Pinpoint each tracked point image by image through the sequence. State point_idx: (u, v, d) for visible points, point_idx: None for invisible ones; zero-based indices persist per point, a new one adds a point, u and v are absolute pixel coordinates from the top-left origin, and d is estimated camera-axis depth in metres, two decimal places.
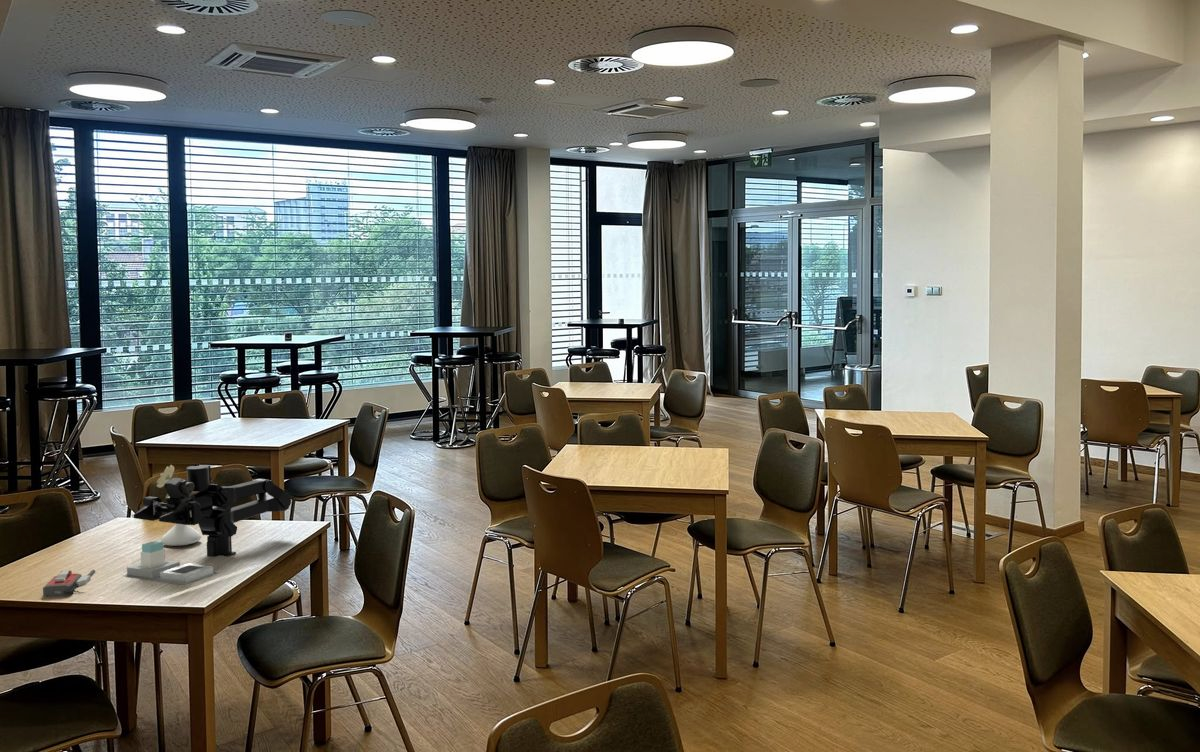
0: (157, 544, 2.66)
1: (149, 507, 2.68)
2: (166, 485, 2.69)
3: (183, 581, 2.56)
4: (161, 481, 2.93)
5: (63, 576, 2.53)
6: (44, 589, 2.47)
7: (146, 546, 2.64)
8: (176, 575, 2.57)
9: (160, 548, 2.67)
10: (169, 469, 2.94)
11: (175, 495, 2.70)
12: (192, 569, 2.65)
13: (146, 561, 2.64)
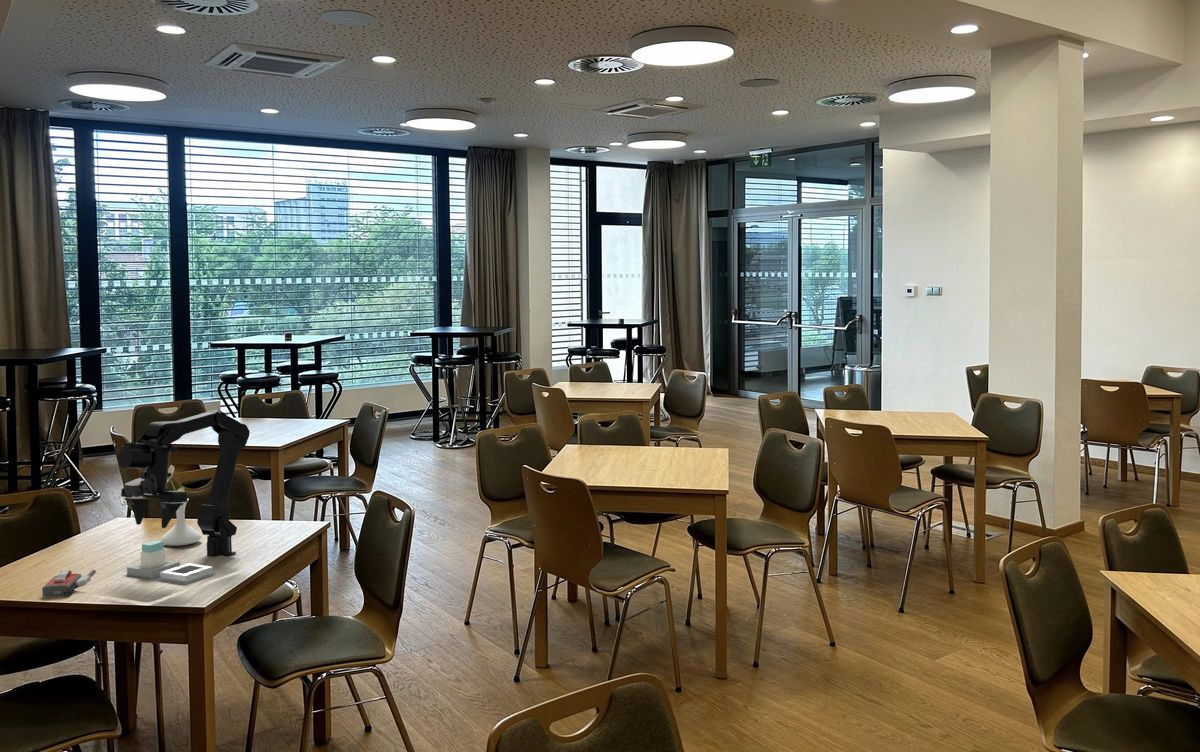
0: (157, 544, 2.66)
1: (136, 504, 2.66)
2: None
3: (183, 581, 2.56)
4: None
5: (63, 576, 2.53)
6: (43, 589, 2.47)
7: (146, 546, 2.64)
8: (176, 575, 2.57)
9: (160, 548, 2.67)
10: (169, 469, 2.94)
11: None
12: (192, 569, 2.65)
13: (146, 561, 2.64)
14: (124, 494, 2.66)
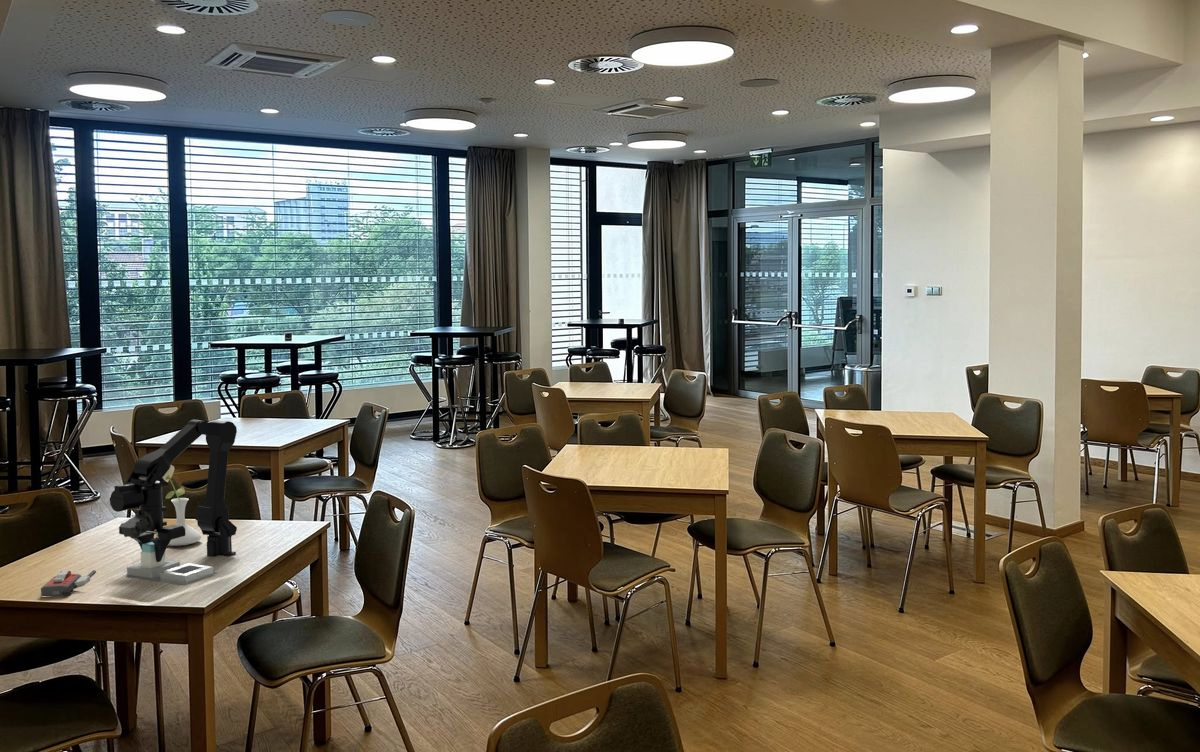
0: None
1: (143, 541, 2.66)
2: None
3: (183, 581, 2.56)
4: None
5: (62, 576, 2.52)
6: (42, 589, 2.47)
7: (146, 546, 2.64)
8: (176, 575, 2.57)
9: None
10: (169, 469, 2.94)
11: None
12: (192, 569, 2.65)
13: (146, 561, 2.64)
14: (122, 532, 2.66)
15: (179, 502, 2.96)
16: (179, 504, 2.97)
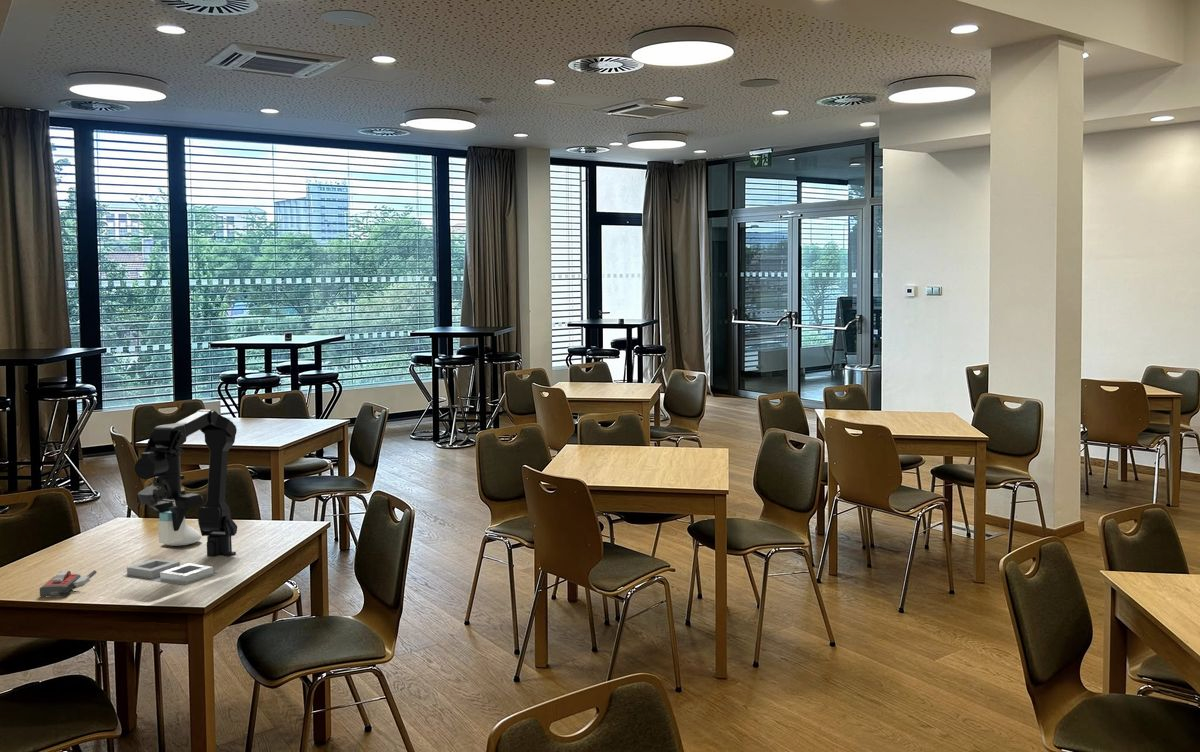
0: None
1: (160, 509, 2.62)
2: None
3: (183, 581, 2.56)
4: None
5: (61, 577, 2.52)
6: (40, 589, 2.47)
7: (163, 515, 2.60)
8: (176, 575, 2.57)
9: None
10: None
11: None
12: (192, 569, 2.65)
13: (163, 530, 2.60)
14: (140, 500, 2.62)
15: None
16: None
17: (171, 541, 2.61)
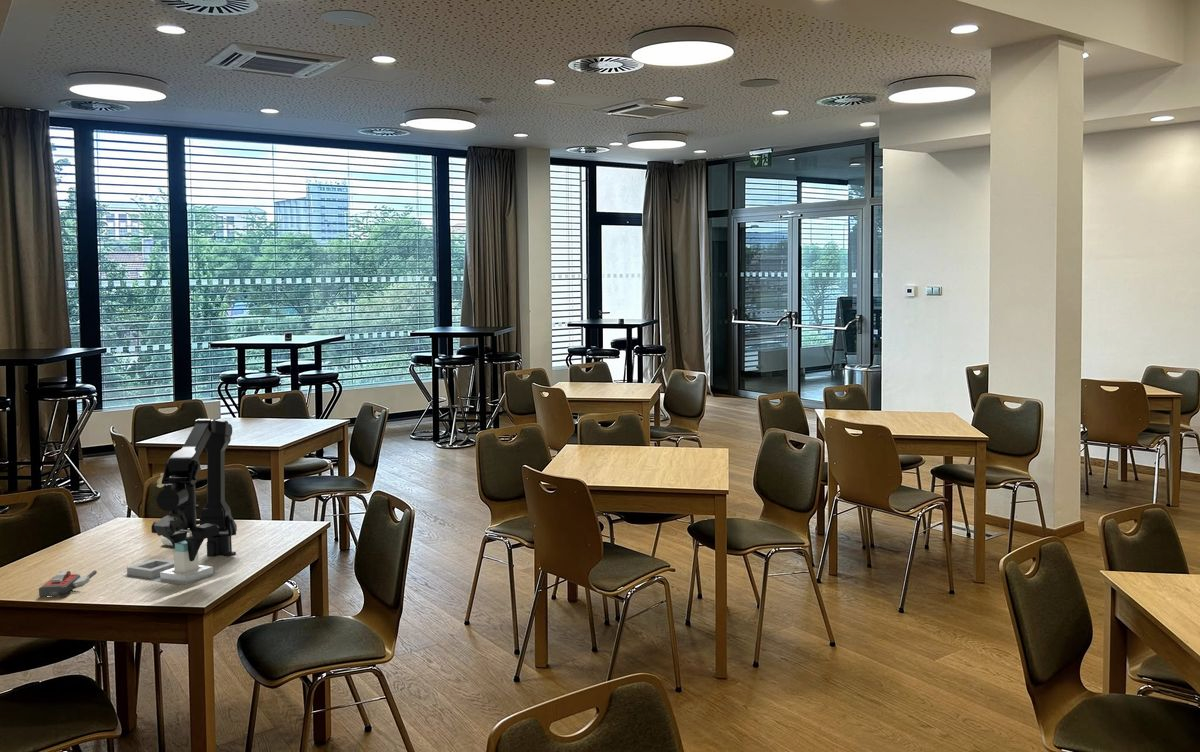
0: None
1: (176, 540, 2.61)
2: None
3: (183, 581, 2.56)
4: (161, 481, 2.93)
5: (60, 577, 2.52)
6: (40, 590, 2.47)
7: (179, 545, 2.59)
8: (176, 575, 2.57)
9: None
10: None
11: None
12: None
13: (179, 560, 2.59)
14: (155, 530, 2.61)
15: None
16: None
17: (187, 571, 2.60)
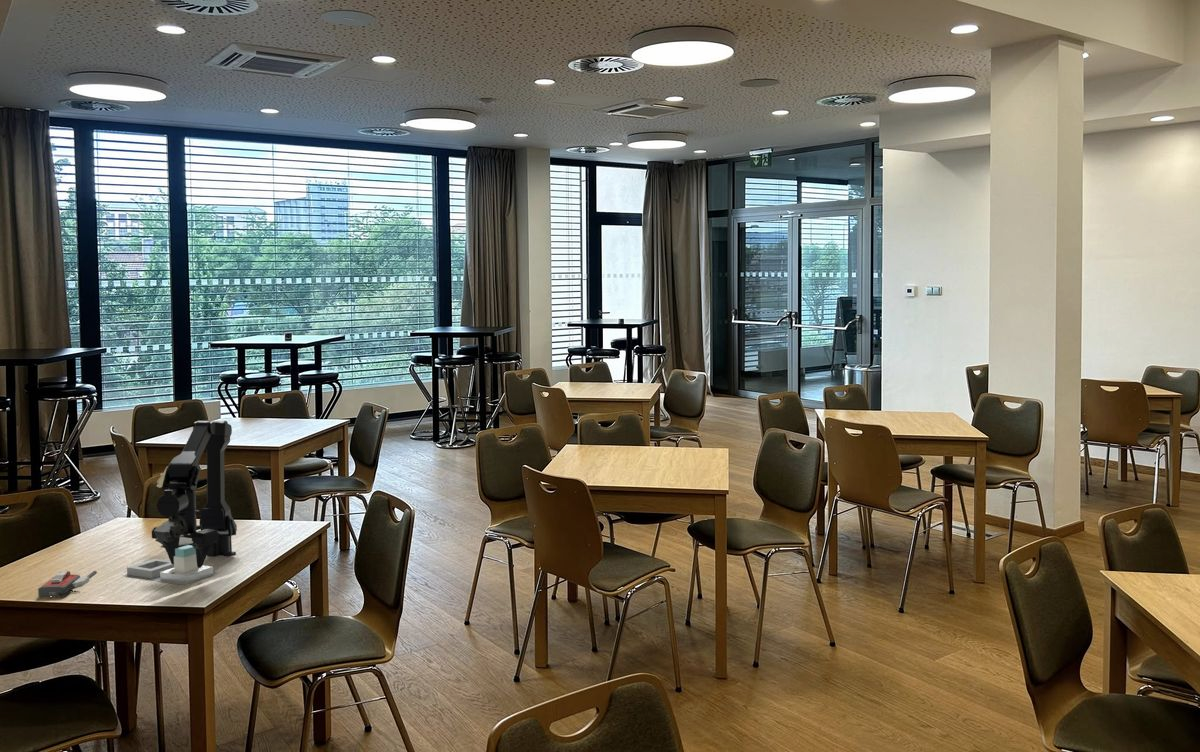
0: (190, 548, 2.61)
1: (168, 544, 2.62)
2: None
3: (183, 581, 2.56)
4: (161, 481, 2.93)
5: (60, 577, 2.52)
6: (39, 590, 2.47)
7: (179, 551, 2.59)
8: (176, 575, 2.57)
9: (193, 553, 2.62)
10: None
11: None
12: None
13: (179, 566, 2.59)
14: (155, 536, 2.61)
15: None
16: None
17: None
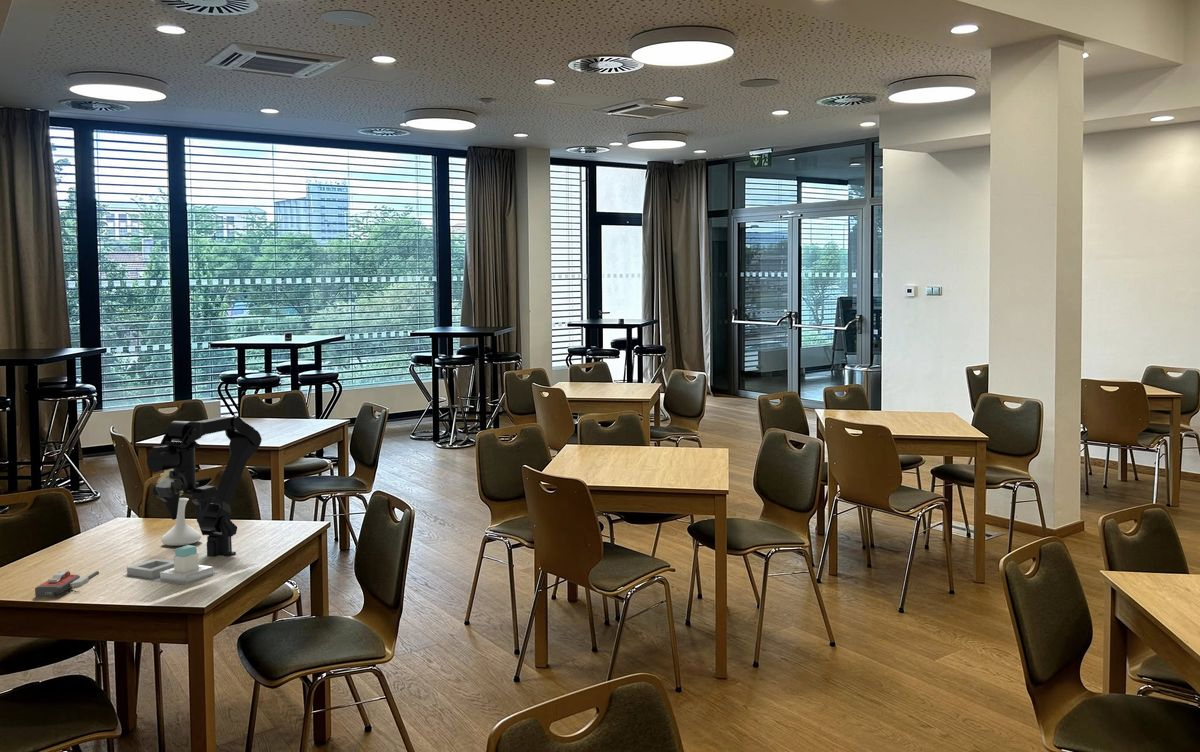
0: (190, 548, 2.61)
1: (169, 501, 2.74)
2: None
3: (183, 581, 2.56)
4: (161, 481, 2.93)
5: (58, 577, 2.52)
6: (35, 589, 2.47)
7: (179, 551, 2.59)
8: (176, 575, 2.57)
9: (193, 553, 2.62)
10: (169, 469, 2.94)
11: None
12: None
13: (179, 566, 2.59)
14: (156, 493, 2.73)
15: (179, 502, 2.96)
16: (179, 504, 2.97)
17: None
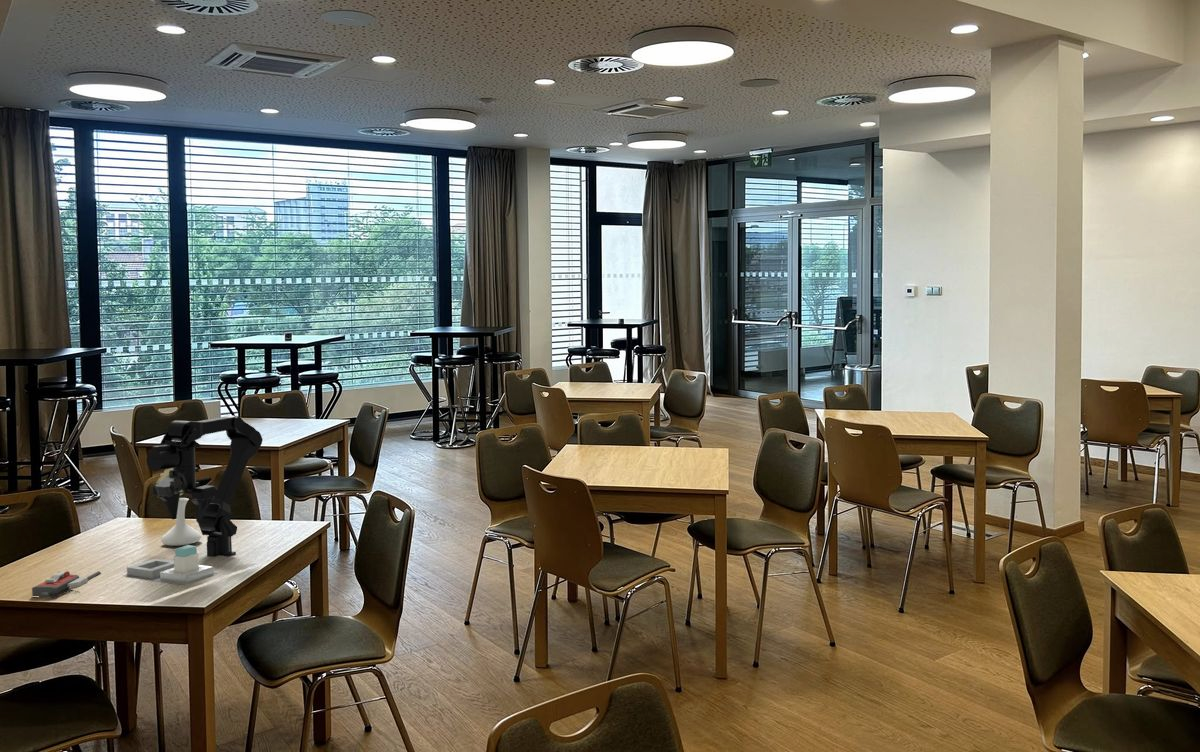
0: (190, 548, 2.61)
1: (169, 500, 2.74)
2: None
3: (183, 581, 2.56)
4: None
5: (56, 577, 2.52)
6: (32, 589, 2.47)
7: (179, 551, 2.59)
8: (176, 575, 2.57)
9: (193, 553, 2.62)
10: (169, 469, 2.94)
11: None
12: None
13: (179, 566, 2.59)
14: (156, 492, 2.73)
15: (179, 502, 2.96)
16: (179, 504, 2.97)
17: None
